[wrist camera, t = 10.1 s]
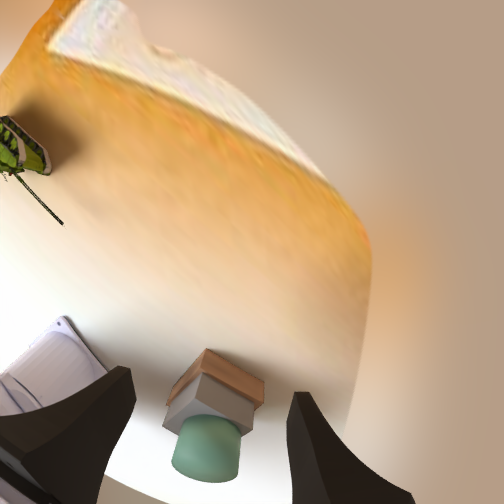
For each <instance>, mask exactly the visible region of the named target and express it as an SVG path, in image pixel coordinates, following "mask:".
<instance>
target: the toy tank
mask: <svg viewBox="0 0 504 504" xmlns="http://www.w3.org/2000/svg"><path fill="white" fill-rule="evenodd" d="M16 127H17V128H16ZM29 137H30V138H29ZM31 139H32V140H31ZM37 145H38V146H37ZM39 146H40V147H39ZM45 159H46V161H45ZM23 168H25V169H28V170H32V171H36V172H37V173H38V174H41V175H46V176H49V175H50V171H51V169H52V164H51V161H50V158H49V155H48V152H47V150H46V149H45V148H44V147H43V146H42V145H40V144H39V143H38V142H37V141H36V140H35V139H34V138H32V137H31V136H30V135H29V134H28V133H27V132H26V131H25V130H24V129H23V128H22V127H21V126H19V125H18V124H17V123H16V122H15V121H14V120H13V119H12V118H11V117H9V116H2V117H0V173H3V171H6V172H9V176H11V175H12V174H14V173H15V174H14V175H15V177H16V178H17V177H18V176H17V175H18V174H17V173H20V172H25V171H24V169H23ZM2 175H3V174H2ZM4 175H6V174H4ZM4 175H3V176H4ZM5 179H6V178H5ZM18 180H19V181H20V183H22V182H23V183H24V184H26V183H25V182H24V181H23V180H22V178H21V177H20V176H19V177H18ZM5 181H7V180H5ZM7 182H8V181H7ZM23 183H22V184H23ZM24 184H23V185H24ZM24 186H25V188H26V189H27V190H28V191H29V192H30V193H31V192H32V193H33V194H34V195H35V196H37V195H36V194H35V193H34V192H33V191H32V190H31V189H30V188H29V187H28V186H27V184H26V185H24ZM27 187H28V188H29V189H30V190H29V189H28V188H27ZM32 193H31V194H32ZM33 194H32V195H33ZM34 195H33V196H34ZM35 196H34V197H35ZM37 197H38V196H37ZM35 198H36V197H35ZM38 198H39V197H38ZM36 199H37V198H36ZM37 200H38V199H37ZM38 202H39V203H40V202H41V203H43V202H42V201H41V200H40V199H39V200H38ZM41 203H40V204H41ZM43 204H44V203H43ZM43 204H41V205H42V206H43V207H44V208H45V209H46V210H47V211H48V212H49V213H50V214H51V215H52V216H53V217H54V218H55V219H56V220H57V221H58V222H59V223H60V224H61V225H63V224H64V223H63V222H62V221H61V220H60V219H59V218H58V217H57V216H56V215H55V214H54V213H53V212H52V211H51V210H50V209H49V208H48V207H47V206H46V205H45V204H44V205H43Z"/></svg>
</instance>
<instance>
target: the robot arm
mask: <svg viewBox="0 0 504 504" xmlns="http://www.w3.org/2000/svg"><path fill="white" fill-rule="evenodd" d="M29 347H30V348H29V349H28V350H27V351H25V352H24V353H23V354H22V355H21V356H20V357H19V358H17V359H16V360H15V361H14V362H13V363H12V364H11V365H10V366H9V367H7V368H6V369H5V370H4V371H3V372H2V373H0V504H96V503H97V498H98V494H99V490H100V486H101V482H102V479H103V476H104V472H105V469H106V467H107V464H108V461H109V458H110V456H111V454H112V451H113V449H114V448H115V446H116V444H117V442H118V440H119V438H120V436H121V434H122V432H123V431H124V429H125V427H126V425H127V423H128V421H129V419H130V417H131V414H132V412H133V409H134V406H135V403H136V400H137V399H136V395H135V390H134V385H133V381H132V376H131V370H130V368H126V367H122V366H117V367H115V368H114V369H112V370H111V371H109V372H107V371H106V370H105V368H104V367H103V366H102V365H101V364H100V363H99V361H98V360H97V359H96V358H95V357H94V355H93V354H92V353H91V352H90V351H89V349H88V348H87V347H86V346H85V344H84V343H83V342H82V340H81V339H80V338H79V337H78V335H77V334H76V333H75V331H74V330H73V328H72V327H71V326H70V324H69V323H68V322H67V320H66V319H65V318H64V317H63V316H60V317H59V318H58V319H57V320H55V321H54V322H53V323H52V324H51V325H50V326H49V327H48V328H47V329H45V330H44V331H43V332H42V333H41V334H40V335H39V336H38V337H37V338H36V339H35V340H34V341H33V342H31V343H30V344H29ZM287 448H288V456H289V463H290V471H291V478H292V504H415V501H414V499H413V497H412V495H411V493H409V492H407V491H405V490H403V489H401V488H399V487H397V486H395V485H393V484H392V483H390V482H388V481H387V480H385V479H383V478H382V477H380V476H379V475H378V474H376V473H375V472H374V471H373V470H371V469H370V468H369V467H367V466H366V465H365V464H364V463H363V462H361V461H360V460H359V459H358V458H357V457H356V456H355V455H354V454H353V453H352V452H351V451H350V450H349V449H348V448H347V447H346V446H345V444H344V443H343V442H342V441H341V440H340V438H339V437H338V436H337V435H336V433H335V432H334V431H333V429H332V428H331V426H330V425H329V424H328V422H327V421H326V419H325V418H324V416H323V415H322V413H321V411H320V410H319V408H318V406H317V405H316V403H315V401H314V399H313V398H312V396H311V394H310V393H309V392H294V396H293V400H292V403H291V407H290V411H289V414H288V418H287Z"/></svg>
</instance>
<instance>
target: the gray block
mask: <svg viewBox="0 0 504 504" xmlns="http://www.w3.org/2000/svg"><path fill="white" fill-rule="evenodd" d="M199 414H208V415H215V416H219V417H222V418H225V419H227V420H229V421H231V422H232V423H234V424H235V425H236V426H237V427H238V428H239V429H240V431H241V437H242V436H244V435H245V434H247V433H249V432H250V431H252V430H253V417H254V402H252V401H250V400H248V399H247V398H245V397H243V396H241V395H240V394H238V393H236V392H234V391H233V390H231V389H229V388H228V387H226V386H224V385H223V384H221V383H219V382H218V381H216V380H215V379H213V378H211V377H210V376H208V375H207V374H205V373H204V372H202V373H201V374H200V375H199V376H198V377H197V378H196V379H195V380H194V381H193V382H192V383H191V384H190V385H189V386H188V387H186V388H185V389H184V390H183V391H182V392H181V393H180V394H179V395H178V396H177V397H176V398H175V399H174V400H173V401H172V402H171V404H170V407H169V409H168V412H167V415H166V417H165V420H164V422H163V425H162V427H164V428H166V429H168V430H169V431H171V432H173V433H175V434H177V435H178V436H179V434H180V431H181V427H182V424H183V422H184V421H185V420H186V419H187V418H188V417H191V416H194V415H199Z"/></svg>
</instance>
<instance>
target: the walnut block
mask: <svg viewBox="0 0 504 504" xmlns="http://www.w3.org/2000/svg"><path fill="white" fill-rule="evenodd" d="M202 372H204V373H205V374H207V375H208V376H210V377H211V378H213V379H215V380H216V381H218V382H219V383H221V384H223V385H224V386H226V387H228V388H229V389H231V390H233V391H234V392H236V393H238V394H240V395H241V396H243V397H245V398H247V399H248V400H250V401H252V402H254V411H255V410H256V409H257V408H258V407H259V406H261V405H262V404H263V403H264V382H263V381H261V380H259V379H257V378H255V377H254V376H252V375H250V374H248V373H247V372H245V371H243V370H241V369H240V368H238V367H236V366H235V365H233V364H231V363H229V362H228V361H226V360H225V359H223V358H221V357H220V356H218V355H216V354H215V353H213V352H212V351H210V350H208V349H207V348H206V349H205V350H204V351H203V352H202V354H201V355H200V356H199V357H198V358H197V359H196V361H195V362H194V363H193V364H192V365H191V366H190V368H189V369H188V370H187V371H186V372H185V373H184V375H183V376H182V377H181V378H180V379H179V380H178V382H177V383H176V384H175V385H174V386H173V389H172V391H171V394H170V396H169V399H168V401H167V404H166V405H167V406H169V407H170V404H171V402H172V401H173V400H174V399H175V398H176V397H177V396H178V395H179V394H180V393H181V392H182V391H183V390H184V389H185V388H186V387H188V386H189V385H190V384H191V383H192V382H193V381H194V380H195V379H196V378H197V377H198V376H199V375H200V374H201V373H202Z"/></svg>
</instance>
